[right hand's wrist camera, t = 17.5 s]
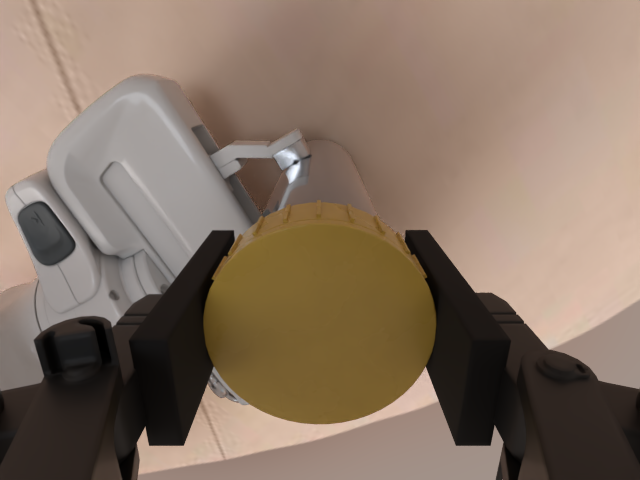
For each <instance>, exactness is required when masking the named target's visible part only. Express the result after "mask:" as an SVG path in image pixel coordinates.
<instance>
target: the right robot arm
mask: <svg viewBox="0 0 640 480" xmlns="http://www.w3.org/2000/svg"><path fill="white" fill-rule="evenodd" d="M234 242H235V236H234V230H212V231H211V233H210V234H209V235H208V237H207V238H206V239H205V241H204V242H203V243H202V244H201V246H200V247H199V248H198V250H197V251H196V252H195V254H194V255H193V256H192V258H191V259H190V260H189V262H188V263H187V264H186V265H185V267H184V268H183V269H182V271H181V272H180V273H179V275H178V276H177V277H176V279H175V280H174V281H173V283H172V284H171V285H170V286H169V288H168V289H167V290H166V292H165V293H164V294H148V295H146V296H145V297H143V298H141V299H140V300H138V301H136V302H135V303H133V304H132V305H131V306H130V308H129V309H128V310H127V311H126V312H125V313H124V316H122V317H121V318H120V319H119V320H118V321H117V323H116V325H114V326H113V327H112V325H111V322H110V321H109V320H107V319H106V318H104V317H99V316H81V317H77V318H72V319H68V320H65V321H62V322H60V323H57V324H54V325H52V326H50V327H49V328H47V329H45V330H44V331H42V332H41V333H40V334H39V335H38V336H37V337H36V338H35V339H34V344H35V347H36V351H37V354H38V357H39V361H40V364H41V368H42V371H43V374H44V378H43V380H42V382H41V383H38V384H33V385H28V386H23V387H19V388H14V389H9V390H4V391H1V390H0V480H137V477H138V469H139V461H140V460H139V453H138V448H137V441H138V439H139V437H140V435H141V433H142V432H143V430H144V428H145V427H146V432H147V437H148V442H149V446H184V444H185V441H186V438H187V436H188V433H189V430H190V428H191V425H192V423H193V420H194V417H195V415H196V412H197V410H198V407H199V404H200V402H201V399H202V396H203V394H204V391H205V389H206V386H207V383H208V381H209V378H210V375H211V373H212V370H213V368H214V365H213V363H212V361H211V359H210V357H209V354H208V351H207V347H206V344H205V335H204V327H203V314H204V308H205V302H206V299H207V296H208V293H209V290H210V288H211V286H212V284H213V282H214V280H213V279H212V277H213V275H214V273H215V272H216V270H217V268H218V266H219V265H220V263H221V261H222V259H223V258H224V256H226V257H227V256H228V252H229V251H230V249H231V247H232V245H233V244H234ZM405 243H406V245H407V247H408V249H409V250H410V253H411V255H414V254H415V256H416V258H417V260H418V261H419V263H420V265H421V267H422V268H423V270H424V272H425V274H426V276H427V278H425V281H426V282H427V284H428V286H429V289H430V291H431V294H432V297H433V300H434V305H435V309H436V319H437V325H436V334H435V342H434V346H433V350H432V353H431V356H430V358H429V360H428V363H427V365H426V368H427V371H428V373H429V376H430V379H431V381H432V384H433V387H434V389H435V392H436V394H437V397H438V400H439V402H440V405H441V408H442V410H443V413H444V415H445V418H446V421H447V423H448V426H449V428H450V431H451V434H452V436H453V439H454V441H455V444H456V446H490V445H491V440H492V435H493V430H494V425H495V426H496V428H497V430H498V432H499V434H500V436H501V438H502V440H503V441H504V443H503V448H502V452H501V457H500V462H499V467H498V471H497V476H496V480H502V479H503V480H640V389H636V388H630V387H626V386H621V385H616V384H611V383H606V382H602V381H598V379H597V377H596V375H595V374H594V373H593V372H592V370H591V369H590V368H589V367H588V366H587V365H585V364H584V363H582V362H581V361H579V360H578V359H576V358H574V357H571V356H569V355H567V354H565V353H561V352H557V351H553V350H548V348H547V347H546V346H545V345H544V344H543V343H542V342H541V340H540V339H539V338H538V337H537V336H536V335H535V334H534V332H533V331H532V330H531V329H530V328H529V327H528V326H527V324H524V321H523V320H522V319H521V318H520V316H519V315H516V312H515V311H514V310H513V308H512V307H511V306H510V305H509V304H508V303H507V302H506V301H504V300H503V299H501V298H499V297H498V296H496V295H494V294H493V293H475V292H474V291H473V289H472V288H471V287H470V285H469V284H468V283H467V282H466V280H465V279H464V278H463V276H462V275H461V274H460V272H459V271H458V270H457V268H456V267H455V266H454V264H453V263H452V262H451V261H450V259H449V258H448V257H447V255H446V254H445V253H444V251H443V250H442V249H441V247H440V246H439V245H438V243H437V242H436V241H435V240H434V238H433V237H432V236H431V234H430V233H429V232H428V230H406V233H405Z"/></svg>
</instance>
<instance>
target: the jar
mask: <svg viewBox="0 0 640 480" xmlns="http://www.w3.org/2000/svg"><path fill="white" fill-rule="evenodd" d="M307 144H308V146H309V148H310V150H311V154H310V155H309V156H307V157H306V158H304V159H302V160H300V161H297V160H295V161H294V163H293V165H291V166H290V167H288V168H286V169H285V170H283V171H282V173H281V175H280V177H279V179H278V181H277V184H276V186H275V188H274V190H273V192H272V194H271V197H270V199H269V201H268V203H267V205H266V207H265V210H264V212H263V214H262V216H263V217H266V216H267V215H269V214H271V213H273V212H276V211H278V210H281V209H283V208H286V205H288V204H290V205H291V206H294V205H298V204H304V203H315V202H317V200H321V202H327V203H336V204H342V205H346V206H347V204H351V206H352V207H354V208H356V209H359V210H362V211H364V212H367V213H368V214H370V215H372V216H375V215H377V216H378V214H377V212H376V210H375V208H374V206H373V203H372V201H371V199H370V197H369V195H368V193H367V190H366V188H365V186H364V184H363V182H362V179H361V177H360V175H359V173H358V171H357V169H356V166H355V164H354V162H353V160H352V158H351V156H350V155H349V153H348V152H347V151H346V150H345V149H344V148H343V147H342V146H340V145H339V144H337V143H335V142H332V141H329V140H324V139H315V140H310V141H307Z"/></svg>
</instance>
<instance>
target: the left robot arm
mask: <svg viewBox="0 0 640 480" xmlns="http://www.w3.org/2000/svg"><path fill="white" fill-rule="evenodd" d="M310 154H311V150H310V148H309V146H308V144H307V142H306V140H305V138H304V137H303V135H302V133H301V131H300V130H299V128H297V129H294V130H293V131H291V132H289V133H287V134H286V135H284V136H282V137H281V138H279V139H277V140H275V141H274V142H272V143H271V142H270V141H247V140H236V141H234V142H232V143H231V144H229V145H227V146H226V147H224V148H222V149H221V150H220V148H219V147H218V145H217V143H216V142H215V140H214V139H213V137H212V136H211V134H210V132H209V131H208V129H207V128H206V126H205V125H204V123H203V121H202V120H201V118H200V117H199V115H198V114H197V112H196V110H195V109H194V107H193V106H192V104H191V103H190V101H189V99H188V98H187V96H186V95H185V93H184V91H183V90H182V88H181V87H180V85H179V84H178V83H177V82H176V81H174V80H172V79H169V78H165V77H162V76H157V75H152V74H139V75H134V76H131V77H129V78H127V79H125V80H123V81H122V82H120V83H118V84H117V85H115V86H114V87H113V88H111V89H110V90H109V91H107V92H106V93H105V94H103V95H102V96H101V97H99V98H98V99H97V100H96V101H94V102H93V103H92V104H91V105H90V106H88V107H87V108H86V109H85V110H84V111H83V112H82V113H80V114H79V115H78V116H77V117H76V118H75V119H74V120H73V121H72V122H71V123H70V124H69V125H68V126H67V127H66V128H65V129H64V130H63V131H62V132H61V133H60V134H59V135H58V136H57V138H56V139H55V140H54V142H53V143H52V145H51V147H50V150H49V152H48V156H47V168H46V169H44V170H42V171H39V172H37V173H35V174H32V175H30V176H28V177H27V178H25V179H23V180H21V181H19V182H18V183H16V184H14V185H13V186H11V187H10V188H9V189H8V190H7V192H6V195H5V200H6V205H7V207H8V210H9V212H10V214H11V216H12V218H13V220H14V222H15V224H16V227H17V229H18V231H19V233H20V235H21V237H22V239H23V241H24V243H25V246H26V248H27V250H28V252H29V255H30V257H31V260H32V262H33V264H34V267H35V270H36V273H37V275H38V276H37V278H36V279H35V280H34V281H33V282H31V283H27V284H22V285H19V286H15V287H12V288H10V289H8V290H5V291H3V292H2V293H0V390H1V391H4V390H9V389H14V388H19V387H23V386H28V385H33V384H38V383H41V382H42V380H43V378H44V374H43V371H42V368H41V364H40V361H39V357H38V354H37V351H36V347H35V344H34V339H35V338H36V337H37V336H38V335H39V334H40V333H41V332H42V331H44V330H45V329H47V328H49V327H50V326H52V325H54V324H57V323H60V322H62V321H65V320H68V319H72V318H77V317H81V316H99V317H104V318H106V319H107V320H109V321H110V322H111V325H112V327H113V326H114V325H116V323H117V321H118V320H119V319H120V318H121V317H122V316H124V313H125V312H126V311H127V310H128V309H129V308H130V306H131V305H132V304H133V303H135V302H136V301H138V300H140V299H141V298H143V297H145V296H146V295H148V294H164V293H165V292H166V290H167V289H168V288H169V286H170V285H171V284H172V283H173V281H174V280H175V279H176V277H177V276H178V275H179V273H180V272H181V271H182V269H183V268H184V267H185V265H186V264H187V263H188V262H189V260H190V259H191V258H192V256H193V255H194V254H195V252H196V251H197V250H198V248H199V247H200V246H201V244H202V243H203V242H204V241H205V239H206V238H207V237H208V235H209V234H210V233H211V231H212V230H234V236H235V240H236V238H237V236H238V235H239V234H241V235H243V234H244V233H245V232H246V231H247V230H248V229H249V228H250V227H251V226H253V225H254V224H255V223H256V222H258V219H259V217H261V216H262V214H261V213H260V211H259V210H258V208H257V206H256V205H255V203H254V202H253V200H252V199H251V197H250V195H249V194H248V192H247V191H246V189H245V188H244V186H243V184H242V183H241V181H240V180H239V178H238V176H237V175H236V173H235V172H237V171H239V170H240V169H241V168H242V167H243V166H244V165H245V164H246V163H247V161H248V160H247V158H274V159H275V160H276V162H277V163H278V165H279V167H280V168H281V170H282V171H283V170H285V169H286V168H288V167H290V166H291V165H293V163H294V161H295V160H297V161H300V160H302V159H304V158H306V157H307V156H309V155H310ZM208 385H209V387H210V389H211V390H212V391H213V392H214V393H215V394H216V395H217V396H218V397H220V398H224V397H226V398H228V399H229V400H231V401H234V402H237V403H240V404H242V405H248V404H249V403H247V402H246V401H245V400H243V399H242V398H241V397H239V396H238V395H237V394H236V393H235V392H234V391H233V390H232V389H230V388H229V386H228V385H227V384H226V383H225V382H224V380H223V379H222V378H221V377H220V375H219V374H218V372H217V370H216V369H215V367H214V368H213V370H212V373H211V375H210V378H209V381H208Z"/></svg>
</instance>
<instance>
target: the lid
mask: <svg viewBox="0 0 640 480" xmlns="http://www.w3.org/2000/svg"><path fill="white" fill-rule="evenodd" d="M425 278H427V276H426V274H425V272H424V270H423V268H422V267H421V265H420V263H419V261H418V260H417V258H416V256H415V254H414V255H411V253H410V250H409V249H408V247H407V245H406V243H405V241H404V240H403V238H402V236H401V234H400V233H399V232H398V233H397V234H396V233H395V232H394V231H393V230H392V229H391V228H390V227H389V226H387V225H386V224H385V223H383V222H382V221H381V220H380V218H379V216H377V215H375V216H372V215H370V214H368V213H367V212H364V211H362V210H359V209H356V208H354V207H352V206H351V204H347V206H346V205H342V204H336V203H327V202H321V200H317V202H315V203H304V204H298V205H294V206H291V205H290V204H288V205H286V208H283V209H281V210H278V211H276V212H273V213H271V214H269V215H267V216H266V217H263V216H261V217H259V219H258V222H256V223H255V224H254V225H253V226H251V227H250V228H249V229H248V230H247V231H246V232H245V233H244V234H243V235H241V234H239V235H238V236H237V238H236V240H235V242H234V244H233V245H232V247H231V249H230V251H229V252H228V256H227V257H226V256H224V258H223V259H222V261H221V263H220V265H219V266H218V268H217V270H216V272H215V273H214V275H213V277H212V279H213V280H214V282H213V284H212V286H211V288H210V290H209V293H208V296H207V299H206V302H205V308H204V314H203V327H204V335H205V344H206V347H207V351H208V354H209V357H210V359H211V361H212V363H213V365H214V367H215V369H216V370H217V372H218V374H219V375H220V377H221V378H222V379H223V380H224V382H225V383H226V384H227V385H228V386H229V388H230V389H232V390H233V391H234V392H235V393H236V394H237V395H238V396H239V397H241V398H242V399H243V400H245V401H246V402H247V403H249V404H250V405H252V406H254V407H256V408H257V409H259V410H261V411H263V412H265V413H268V414H270V415H272V416H275V417H278V418H281V419H285V420H288V421H293V422H299V423H307V424H333V423H342V422H346V421H351V420H356V419H359V418H362V417H365V416H368V415H370V414H372V413H374V412H377V411H379V410H381V409H383V408H384V407H386V406H388V405H389V404H391V403H393V402H394V401H395V400H396V399H398V398H399V397H400V396H402V395H403V394H404V393H405V392H406V391H407V390H408V389H409V388H410V387H411V386H412V385H413V384H414V383H415V381H416V380H417V379H418V377H419V376H420V375H421V373H422V372H423V370H424V368H425V366H426V365H427V363H428V360H429V358H430V356H431V353H432V350H433V346H434V342H435V334H436V325H437V319H436V309H435V305H434V300H433V297H432V294H431V291H430V289H429V286H428V284H427V282H426V281H425Z"/></svg>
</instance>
